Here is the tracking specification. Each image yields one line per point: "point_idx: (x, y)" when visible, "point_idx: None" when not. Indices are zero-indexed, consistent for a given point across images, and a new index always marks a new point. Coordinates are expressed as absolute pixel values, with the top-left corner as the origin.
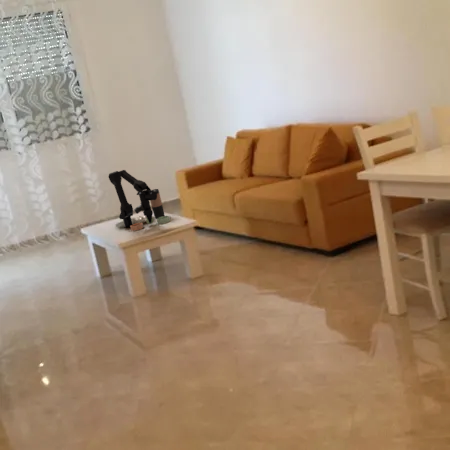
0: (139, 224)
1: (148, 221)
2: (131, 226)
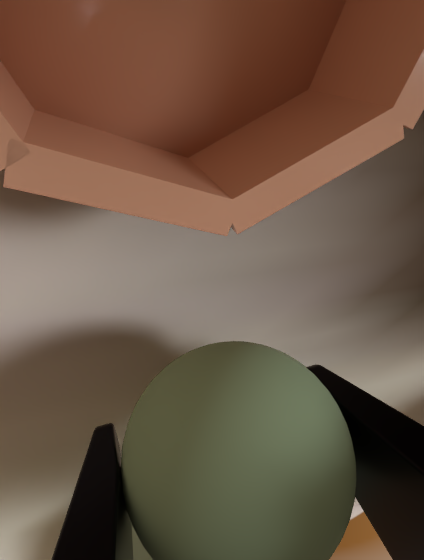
0: (365, 61)
1: (125, 449)
2: None
